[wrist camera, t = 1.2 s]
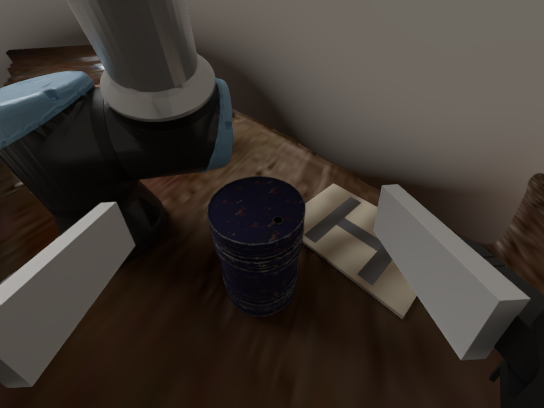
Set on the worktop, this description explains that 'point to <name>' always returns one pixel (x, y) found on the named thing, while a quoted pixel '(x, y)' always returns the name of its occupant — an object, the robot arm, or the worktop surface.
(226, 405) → the worktop surface
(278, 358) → the worktop surface
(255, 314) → the dark blue can
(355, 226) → the board
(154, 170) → the robot arm
